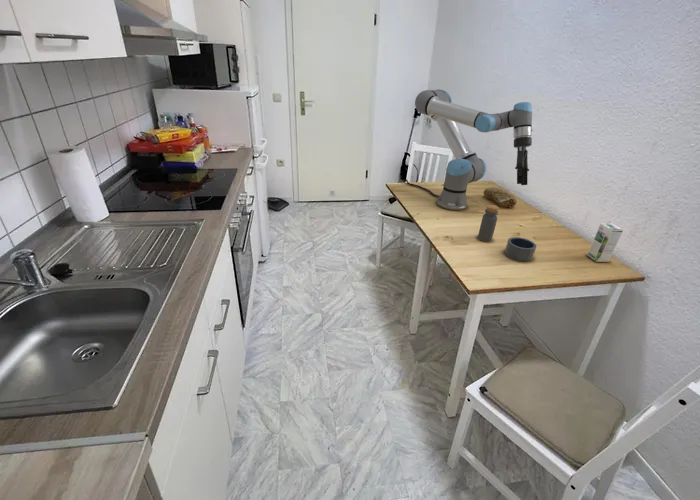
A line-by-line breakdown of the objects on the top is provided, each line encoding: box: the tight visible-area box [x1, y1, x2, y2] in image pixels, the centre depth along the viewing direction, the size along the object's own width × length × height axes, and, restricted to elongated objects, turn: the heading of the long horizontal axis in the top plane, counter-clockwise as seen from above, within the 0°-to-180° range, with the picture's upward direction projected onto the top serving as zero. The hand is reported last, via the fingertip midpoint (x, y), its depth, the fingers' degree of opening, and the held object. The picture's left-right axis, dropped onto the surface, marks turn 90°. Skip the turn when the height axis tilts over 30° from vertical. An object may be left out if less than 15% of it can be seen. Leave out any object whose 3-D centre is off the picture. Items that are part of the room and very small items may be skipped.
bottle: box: [477, 204, 500, 243], centre depth 153 cm, size 6×6×15 cm
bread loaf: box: [483, 187, 518, 209], centre depth 198 cm, size 13×8×20 cm
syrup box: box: [586, 222, 624, 263], centre depth 142 cm, size 6×6×14 cm
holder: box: [504, 236, 537, 263], centre depth 144 cm, size 10×10×6 cm
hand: (522, 184), depth 168 cm, fingers open, 13 cm apart
